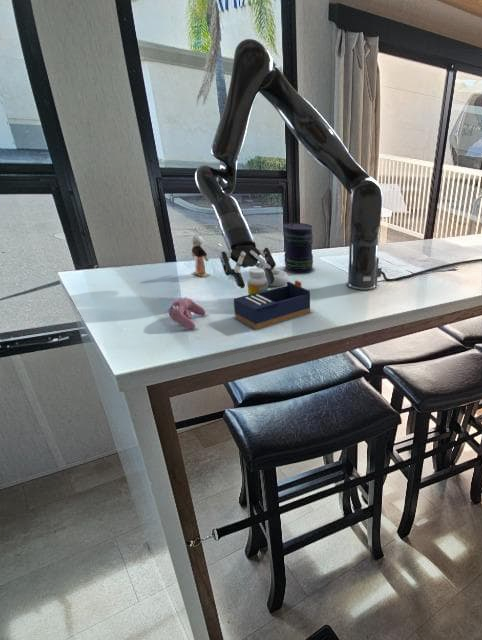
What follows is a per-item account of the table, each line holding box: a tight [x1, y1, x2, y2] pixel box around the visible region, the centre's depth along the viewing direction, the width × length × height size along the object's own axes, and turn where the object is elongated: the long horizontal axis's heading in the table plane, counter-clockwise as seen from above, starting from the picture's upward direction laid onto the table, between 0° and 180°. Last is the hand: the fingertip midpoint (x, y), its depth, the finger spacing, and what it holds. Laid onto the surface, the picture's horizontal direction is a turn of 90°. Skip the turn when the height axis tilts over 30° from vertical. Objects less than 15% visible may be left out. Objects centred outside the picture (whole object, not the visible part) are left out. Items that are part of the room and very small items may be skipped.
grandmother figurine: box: [190, 234, 210, 278], centre depth 133 cm, size 8×4×13 cm, turn 68°
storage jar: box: [283, 222, 314, 275], centre depth 147 cm, size 10×10×15 cm
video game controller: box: [167, 296, 206, 330], centre depth 105 cm, size 10×5×7 cm, turn 5°
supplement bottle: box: [246, 267, 269, 295], centre depth 119 cm, size 5×5×10 cm
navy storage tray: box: [232, 279, 311, 330], centre depth 113 cm, size 18×9×8 cm, turn 142°
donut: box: [264, 268, 289, 287], centre depth 136 cm, size 10×4×10 cm
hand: (257, 284), depth 118 cm, fingers open, 8 cm apart
